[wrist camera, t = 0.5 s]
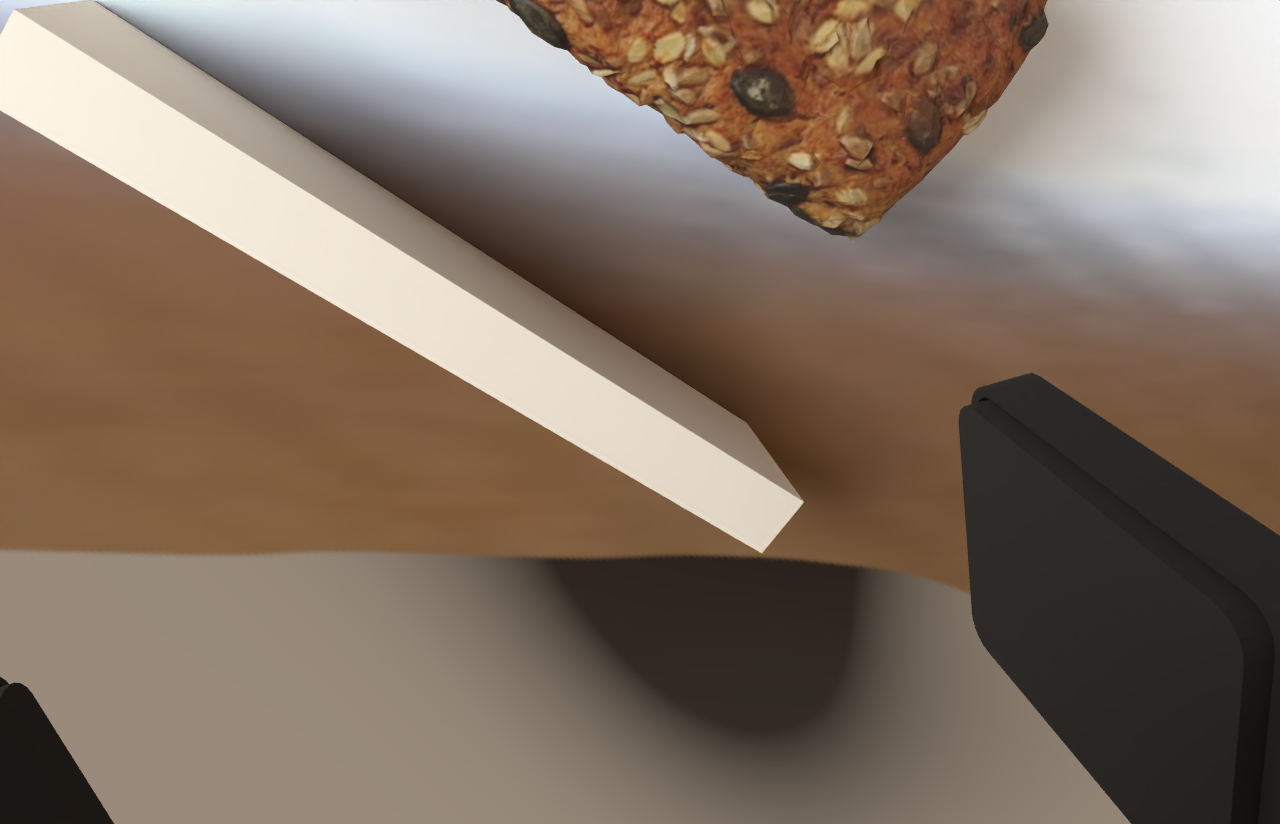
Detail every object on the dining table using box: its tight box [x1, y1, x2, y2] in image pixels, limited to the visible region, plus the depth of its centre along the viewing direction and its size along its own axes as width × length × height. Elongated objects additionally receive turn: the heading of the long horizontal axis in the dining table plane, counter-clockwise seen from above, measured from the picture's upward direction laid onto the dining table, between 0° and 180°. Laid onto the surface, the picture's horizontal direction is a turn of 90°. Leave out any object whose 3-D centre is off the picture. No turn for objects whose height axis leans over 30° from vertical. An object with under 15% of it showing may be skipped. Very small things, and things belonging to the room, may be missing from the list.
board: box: [0, 0, 804, 553], centre depth 34 cm, size 2×28×7 cm, turn 53°
